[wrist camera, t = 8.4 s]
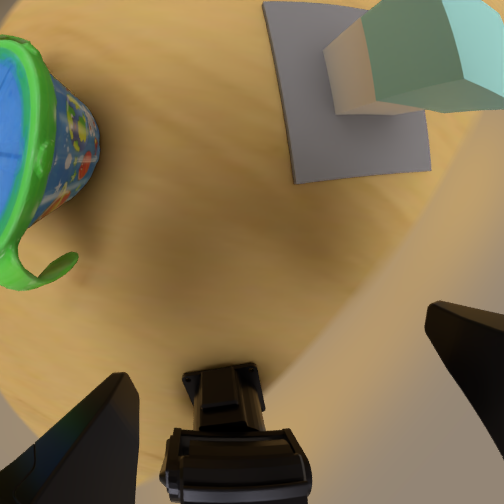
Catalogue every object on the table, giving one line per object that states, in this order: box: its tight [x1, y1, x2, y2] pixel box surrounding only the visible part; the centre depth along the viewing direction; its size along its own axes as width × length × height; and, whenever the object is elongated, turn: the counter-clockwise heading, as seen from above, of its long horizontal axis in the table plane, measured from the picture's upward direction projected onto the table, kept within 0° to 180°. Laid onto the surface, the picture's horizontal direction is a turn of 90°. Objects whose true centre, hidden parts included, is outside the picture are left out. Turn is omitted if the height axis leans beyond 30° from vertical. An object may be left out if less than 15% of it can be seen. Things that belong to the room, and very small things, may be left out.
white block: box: [323, 16, 427, 115], centre depth 13 cm, size 5×5×6 cm
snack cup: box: [0, 35, 100, 291], centre depth 11 cm, size 16×11×10 cm
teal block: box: [361, 0, 504, 113], centre depth 8 cm, size 5×5×6 cm
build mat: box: [262, 1, 431, 184], centre depth 17 cm, size 14×12×1 cm
